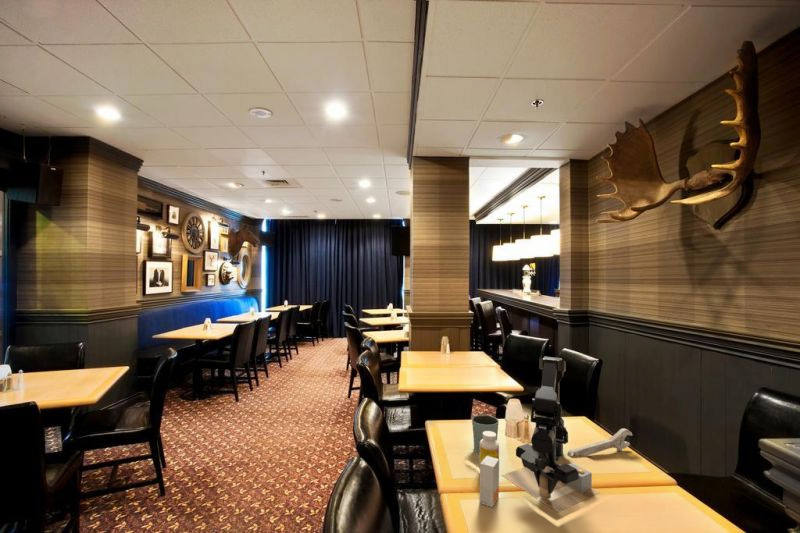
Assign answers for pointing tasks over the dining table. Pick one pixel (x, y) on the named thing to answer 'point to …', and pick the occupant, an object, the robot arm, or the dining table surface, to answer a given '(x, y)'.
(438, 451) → the dining table surface
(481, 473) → the skincare box
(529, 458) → the robot arm
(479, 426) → the grey green cup
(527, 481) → the board
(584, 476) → the block
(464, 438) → the dining table surface
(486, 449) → the supplement bottle
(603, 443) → the wrench
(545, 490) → the tan small bottle
